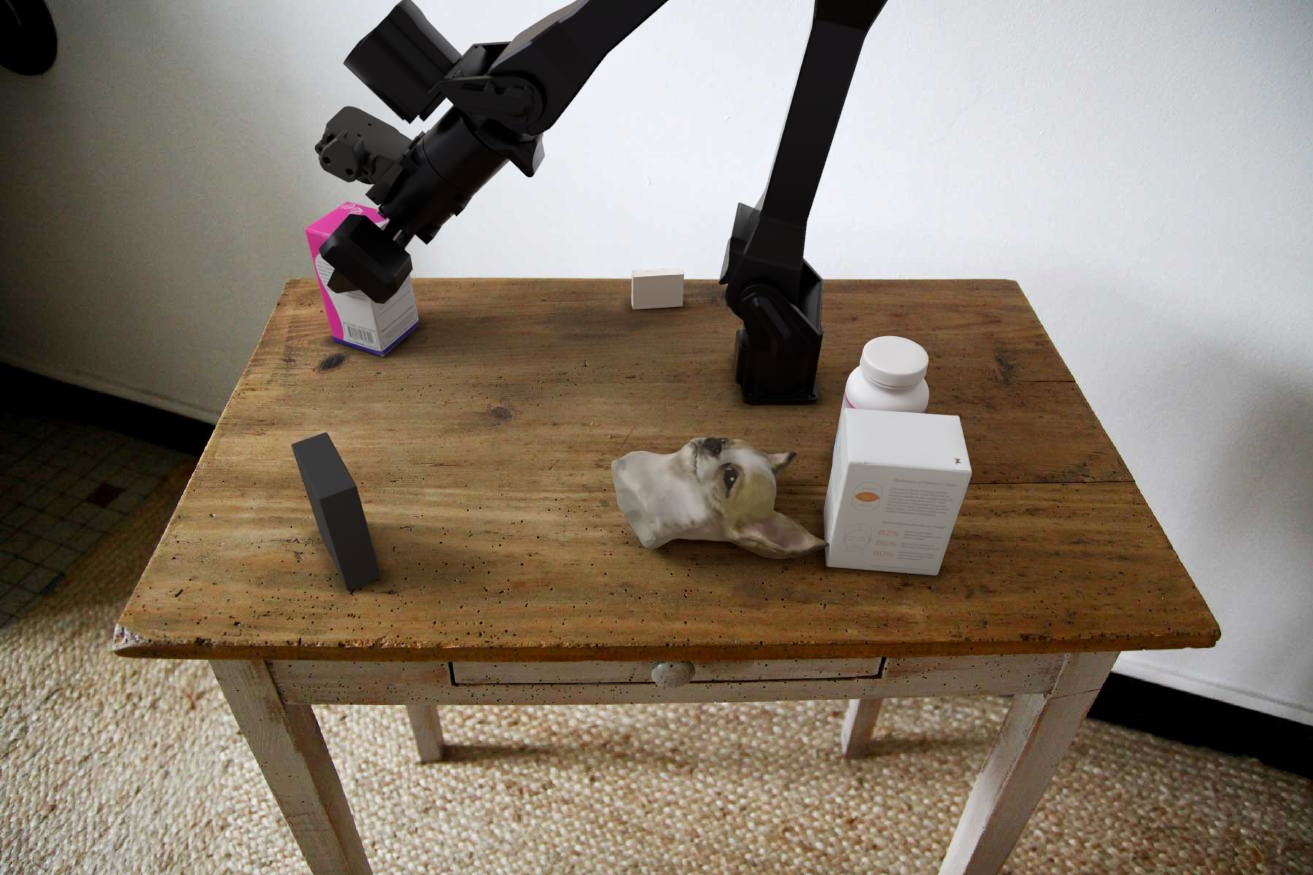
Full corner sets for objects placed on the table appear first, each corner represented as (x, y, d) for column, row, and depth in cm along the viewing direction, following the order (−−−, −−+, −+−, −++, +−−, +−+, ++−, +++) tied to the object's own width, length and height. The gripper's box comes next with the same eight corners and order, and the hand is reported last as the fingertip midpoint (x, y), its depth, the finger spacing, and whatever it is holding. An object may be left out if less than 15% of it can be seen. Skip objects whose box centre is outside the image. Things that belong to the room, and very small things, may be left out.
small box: (928, 520, 69) (963, 414, 62) (938, 578, 65) (976, 471, 58) (821, 511, 70) (843, 404, 63) (823, 568, 66) (847, 460, 59)
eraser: (682, 306, 90) (684, 273, 87) (633, 310, 89) (633, 277, 87) (680, 299, 91) (682, 266, 88) (631, 302, 90) (631, 270, 87)
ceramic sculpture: (605, 393, 65) (809, 389, 68) (600, 480, 71) (787, 473, 74) (621, 502, 58) (850, 494, 60) (613, 589, 64) (823, 578, 66)
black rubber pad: (353, 522, 68) (326, 431, 62) (381, 577, 64) (356, 485, 58) (320, 535, 67) (290, 443, 61) (348, 592, 63) (318, 500, 57)
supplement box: (422, 323, 86) (401, 213, 79) (382, 358, 82) (357, 245, 75) (371, 307, 88) (346, 198, 80) (330, 341, 84) (300, 229, 76)
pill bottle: (912, 452, 75) (944, 339, 67) (901, 503, 71) (934, 388, 63) (838, 434, 76) (861, 322, 69) (823, 483, 72) (846, 369, 64)
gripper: (416, 39, 76) (319, 154, 85) (316, 134, 62) (212, 259, 71) (516, 140, 80) (414, 239, 89) (443, 249, 67) (332, 354, 75)
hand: (348, 268), depth 81 cm, fingers closed on supplement box, 6 cm apart
